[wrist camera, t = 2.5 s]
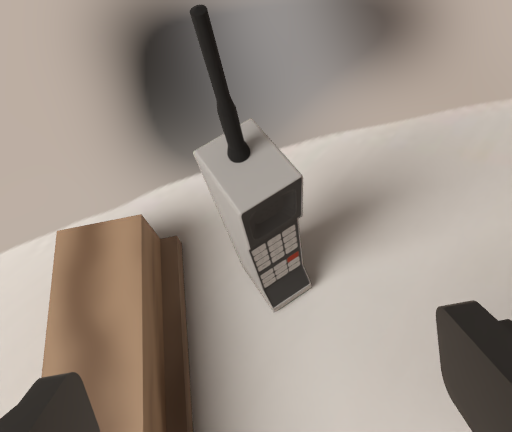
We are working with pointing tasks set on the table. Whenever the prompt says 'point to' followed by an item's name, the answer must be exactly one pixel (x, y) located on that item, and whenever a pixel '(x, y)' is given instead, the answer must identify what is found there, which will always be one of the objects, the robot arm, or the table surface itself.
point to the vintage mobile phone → (252, 189)
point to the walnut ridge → (122, 324)
